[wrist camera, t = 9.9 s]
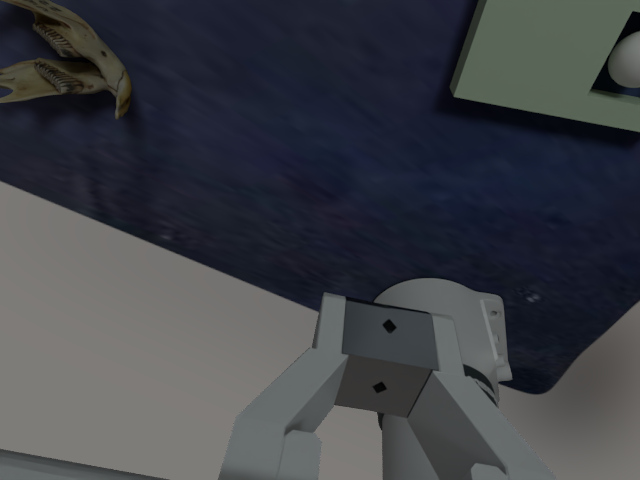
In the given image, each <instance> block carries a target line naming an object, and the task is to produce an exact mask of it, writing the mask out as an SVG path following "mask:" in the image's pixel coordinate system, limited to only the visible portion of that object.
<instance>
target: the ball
mask: <svg viewBox="0 0 640 480" xmlns="http://www.w3.org/2000/svg"><path fill="white" fill-rule="evenodd" d="M608 71H609V74H610V76H611V78H612V79H613V80H614V81H615V82H616V83H618V84H619V85H622V86H624V87H629V88H638V87H640V31H638V32H635V33H633V34H631V35H629V36H627V37H625V38H624V39H623V40H621V41H620V42H619V43H618V44H617V45H616V46H615V48H614V49H613V51H612V52H611V54H610V57H609V60H608Z"/></svg>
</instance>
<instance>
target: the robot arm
mask: <svg viewBox="0 0 640 480" xmlns="http://www.w3.org/2000/svg"><path fill="white" fill-rule="evenodd" d="M511 379H512V375H511V370H510V366H509V363H508V355H507V343H506V331H505V318H504V306H503V301H502V298H501V297H499V296H497V295H494V294H489V293H481V292H476V291H473V290H471V289H469V288H467V287H465V286H463V285H460V284H458V283H455V282H452V281H448V280H443V279H435V278H423V279H414V280H409V281H405V282H402V283H399V284H397V285H394V286H392V287H390V288H389V289H387V290H385V291H384V292H383V293H381V294H380V295H379V296H378V297H377V298H376V299H375V301H374V302H370V301H365V300H361V299H356V298H351V297H344V296H339V295H334V294H330V293H325V292H324V294H323V297H322V302H321V306H320V311H319V315H318V320H317V325H316V329H315V334H314V339H313V344H312V348H308V349H307V350H306V351H305V352H304V353H303V354H302V355H301V356H300V357H299V358H298V359H297V360H296V361H295V362H294V363H293V364H292V365H290V366H289V368H287V369H286V370H285V371H284V372H283V373H282V374H281V375H280V376H279V377H278V378H277V379H276V380H275V381H274V382H273V383H271V384H270V385H269V386H268V387H267V388H266V389H265V390H264V391H263V392H262V393H261V394H260V395H259V396H258V397H257V398H256V399H255V400H254V401H252V403H250V404H249V405H248V406H247V407H246V408H245V409H244V410H243V411H242V412H241V413H240V414H239V415H238V416H237V417H236V419H235V423H234V426H233V430H232V433H231V437H230V440H229V443H228V447H227V450H226V454H225V457H224V461H223V464H222V468H221V471H220V474H219V478H218V480H318V474H319V464H320V453H321V443H322V442H321V440H320V439H319V438H318V437H317V436H316V434H315V433H313V432H314V431H315V430H316V429H317V427H318V426H319V425H320V423H321V422H322V421H323V420H324V418H325V417H326V416H327V414H328V413H329V412H330V410H331V409H332V408H333V406H334V405H338V406H345V407H351V408H358V409H364V410H370V411H375V412H377V414H378V422H379V426H380V428H381V430H382V449H383V450H382V452H383V453H382V454H383V480H556V477H555V475H554V474H553V473H552V472H551V470H550V469H548V467H547V466H546V465H545V463H544V462H543V461H542V460H541V459H540V458H539V456H538V455H537V454H536V453H535V452H534V451H533V450H532V448H531V447H530V446H529V445H528V443H527V442H526V441H525V440H524V439H523V437H522V436H521V435H520V434H519V433H518V432H517V430H516V429H515V428H514V427H513V426H512V425H511V423H510V422H509V421H508V420H507V419H506V417H505V416H504V415H503V414H502V413H501V412H500V411H499V407H498V402H499V390H498V382H499V381H508V380H511ZM0 480H168V479H163V478H157V477H152V476H146V475H141V474H135V473H129V472H123V471H118V470H113V469H107V468H102V467H96V466H91V465H85V464H80V463H73V462H69V461H63V460H58V459H52V458H46V457H41V456H35V455H30V454H25V453H19V452H14V451H8V450H3V449H0Z"/></svg>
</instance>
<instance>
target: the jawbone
mask: <svg viewBox="0 0 640 480" xmlns="http://www.w3.org/2000/svg"><path fill="white" fill-rule="evenodd" d="M2 1H5V2H8V3H10V4H13V5H16V6H19V7H22V8H25V9H28V10H31V11H32V13H33V14H34V16H35V23H34V24H33V30H34V31H36V32H37V33H38V34H40V35H41V36H42V37H43V38H44V39H45V40H46V41H48V43H50V46H52V47H53V49H55V50H56V51H57V53H58V54H59V55H60V56H62V57H67V58H74V57H84V58H87V59H88V60H90V61H91V62H93V63H83V62H70V61H56V60H49V59H44V58H37V59H36V60H28V61H23V62H19V63H16V64H14V65H11V66H9V67H6V68H3V69H0V73H1V74H3V75H0V88H5V89H13V90H14V91H13V92H12V93H11V94H10V95H8V96H6V97H3V98H0V103H3V102H16V101H26V100H30V99H34V98H38V97H43V96H49V95H64V94H94V93H98V92H101V91H103V90H108V91H110V92H111V93H112V94H113V95H114V96H115V97H116V111H115V119H116V120H117V119H119V117H122V116H123V115H124V114H125V113H126V112H127V109H128V107H129V104H130V101H131V97H130V94H131V91H132V87H131V82H130V79H129V76H128V73H127V70H126V68H125V67H124V65H123V64H122V63H121V61H120V60H119V59H118V58H117V56H116V55H115V54H114V53H113V52H112V51H111V50H110V48H109V47H108V46H107V45H106V44H105V43H104V42H103V41H102V40H101V39H100V38H99V37H98V35H97V34H96V33H95V31H94V30H93V29H92V28H91V27H90V26H89V25H88V24H87V23H86V22H85V21H84V20H83V19H81V18H80V17H79V16H78V15H76V14H75V13H73V12H71V11H70V10H68V9H66V8H65V7H62V6H59V5H57V4H55V3H53V2H51V1H49V0H2Z"/></svg>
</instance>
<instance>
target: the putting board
mask: <svg viewBox="0 0 640 480" xmlns="http://www.w3.org/2000/svg"><path fill="white" fill-rule="evenodd" d="M632 11H636V12H640V0H479V1H478V4H477V7H476V10H475V13H474V16H473V18H472V21H471V24H470V27H469V30H468V33H467V36H466V39H465V42H464V45H463V48H462V51H461V54H460V57H459V60H458V63H457V66H456V69H455V72H454V75H453V78H452V81H451V84H450V90H451V92H452V94H453V97H457V98H462V99H468V100H473V101H478V102H483V103H489V104H494V105H499V106H505V107H510V108H515V109H521V110H526V111H531V112H536V113H542V114H547V115H552V116H558V117H563V118H568V119H573V120H579V121H584V122H589V123H595V124H600V125H605V126H611V127H616V128H621V129H626V130H632V131H637V132H640V98H639V97H633V96H628V95H623V94H618V93H612V92H607V91H602V90H596V89H591V87H592V85H593V83H594V81H595V80H596V78H597V76H598V74H599V72H600V70H601V68H602V67H603V65H604V63H605V61H606V59H607V57H608V55H609V54H610V52H611V50H612V48H613V46H614V44H615V43H616V41H617V39H618V37H619V35H620V33H621V31H622V30H623V28H624V26H625V24H626V22H627V20H628V18H629V17H630V15H631V13H632Z"/></svg>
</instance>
